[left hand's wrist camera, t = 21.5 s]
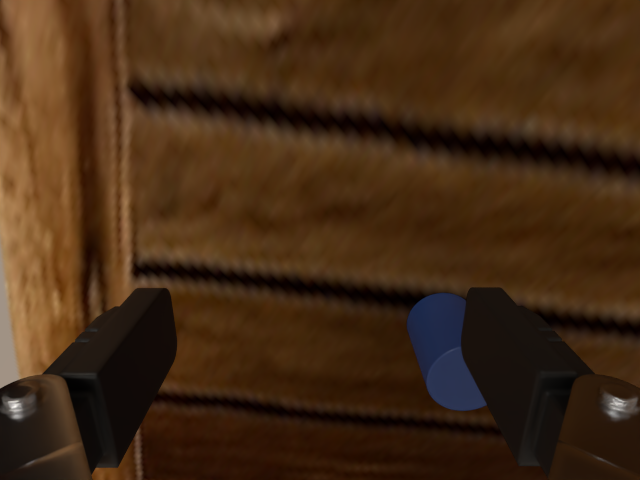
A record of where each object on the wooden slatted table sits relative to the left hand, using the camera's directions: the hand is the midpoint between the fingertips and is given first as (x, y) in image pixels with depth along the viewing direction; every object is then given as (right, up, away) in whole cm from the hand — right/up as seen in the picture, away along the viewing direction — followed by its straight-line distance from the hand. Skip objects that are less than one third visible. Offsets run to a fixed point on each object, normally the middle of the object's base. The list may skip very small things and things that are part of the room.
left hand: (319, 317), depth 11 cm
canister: (+7, -2, +11) cm, 13 cm away
